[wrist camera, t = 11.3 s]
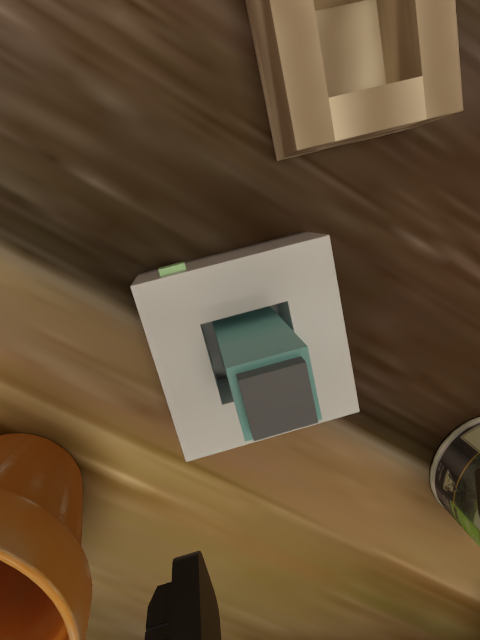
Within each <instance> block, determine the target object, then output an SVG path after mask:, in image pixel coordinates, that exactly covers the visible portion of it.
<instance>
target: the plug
mask: <svg viewBox="0 0 480 640" xmlns="http://www.w3.org/2000/svg"><path fill="white" fill-rule="evenodd" d="M212 323H213V327H214V330H215V334H216V338H217V342H218V345H219V349H220V353H221V357H222V361H223V364H224V368H225V372H226V375H227V379H228V382H229V386H230V390H231V393H232V397H233V400H234V404H235V407H236V411H237V415H238V418H239V422H240V425H241V429H242V433H243V436H244V440H245V442H246V441H250V440H254V441H257V440H260V439H264V438H267V437H271V436H274V435H278V434H281V433H284V432H288V431H291V430H295V429H298V428H302V427H305V426H309V425H312V424H316V423H318V421H319V420H322V416H321V411H320V406H319V401H318V396H317V391H316V386H315V381H314V376H313V371H312V366H311V361H310V356H309V351H308V346H307V345H306V344H305V343H304V342H303V341H302V340H301V339H300V338H299V337H298V335H297V334H296V333H295V332H294V331H293V330H292V329H291V328H290V327H289V326H288V325H287V324H286V323H285V322H284V321H283V320H282V319H281V318H280V316H279V315H278V314H277V313H276V312H275V311H274V310H273V309H272V308H271V307H270V306H267V307H263V308H260V309H256V310H252V311H249V312H245V313H241V314H237V315H234V316H230V317H226V318H222V319H219V320H215V321H212Z"/></svg>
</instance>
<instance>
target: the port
mask: <svg viewBox="0 0 480 640" xmlns="http://www.w3.org/2000/svg"><path fill="white" fill-rule="evenodd" d="M130 287H131V290H132V293H133V297H134V300H135V303H136V306H137V309H138V312H139V315H140V319H141V322H142V325H143V328H144V331H145V334H146V337H147V340H148V344H149V347H150V350H151V353H152V356H153V359H154V362H155V366H156V369H157V372H158V375H159V378H160V381H161V384H162V388H163V391H164V394H165V397H166V400H167V403H168V406H169V410H170V413H171V416H172V419H173V422H174V425H175V428H176V432H177V435H178V438H179V441H180V444H181V447H182V450H183V454H184V457H185V460H186V462H188V461H192V460H195V459H198V458H202V457H205V456H209V455H212V454H216V453H219V452H222V451H226V450H229V449H233V448H236V447H240V446H243V445H247V444H250V443H253V442H257V441H260V440H264V439H267V438H271V437H274V436H277V435H274V436H271V437H267V438H264V439H260V440H257V441H254V440H250V441H246V442H245V440H244V436H243V433H242V429H241V425H240V422H239V418H238V415H237V411H236V407H235V404H234V400H233V397H232V393H231V390H230V386H229V382H228V379H227V375H226V372H225V368H224V364H223V361H222V357H221V353H220V349H219V345H218V342H217V338H216V334H215V330H214V327H213V323H212V321H215V320H219V319H222V318H226V317H230V316H234V315H237V314H241V313H245V312H249V311H252V310H256V309H260V308H263V307H267V306H270V307H271V308H272V309H273V310H274V311H275V312H276V313H277V314H278V315H279V316H280V318H281V319H282V320H283V321H284V322H285V323H286V324H287V325H288V326H289V327H290V328H291V329H292V330H293V331H294V332H295V333H296V334H297V335H298V337H299V338H300V339H301V340H302V341H303V342H304V343H305V344H306V345H307V346H308V351H309V356H310V361H311V366H312V371H313V376H314V381H315V386H316V391H317V396H318V401H319V406H320V411H321V416H322V420H319V421H318V423H316V424H319V423H322V422H326V421H329V420H332V419H336V418H339V417H343V416H346V415H350V414H353V413H356V412H360V411H359V405H358V399H357V394H356V388H355V382H354V376H353V370H352V364H351V358H350V353H349V347H348V341H347V335H346V329H345V323H344V318H343V312H342V306H341V300H340V294H339V288H338V283H337V277H336V271H335V265H334V259H333V253H332V248H331V242H330V236H329V235H326V234H319V233H312V232H306V231H304V232H300V233H297V234H293V235H289V236H285V237H281V238H277V239H273V240H269V241H265V242H261V243H257V244H253V245H250V246H246V247H242V248H238V249H234V250H230V251H226V252H222V253H218V254H214V255H210V256H207V257H203V258H199V259H195V260H191V261H187V262H184V261H183V262H179V263H175V264H171V265H167V266H164V267H160V268H159V269H156V270H152V271H148V272H144V273H140V274H138V276H137V277H136V279H135V280H134V282H133V283H132V285H131V286H130ZM312 425H315V424H312ZM312 425H309V426H312ZM305 427H308V426H305ZM305 427H302V428H305ZM302 428H298V429H302ZM298 429H295V430H298ZM295 430H291V431H295ZM291 431H288V432H291ZM288 432H284V433H288ZM284 433H281V434H284ZM281 434H278V435H281Z"/></svg>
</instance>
